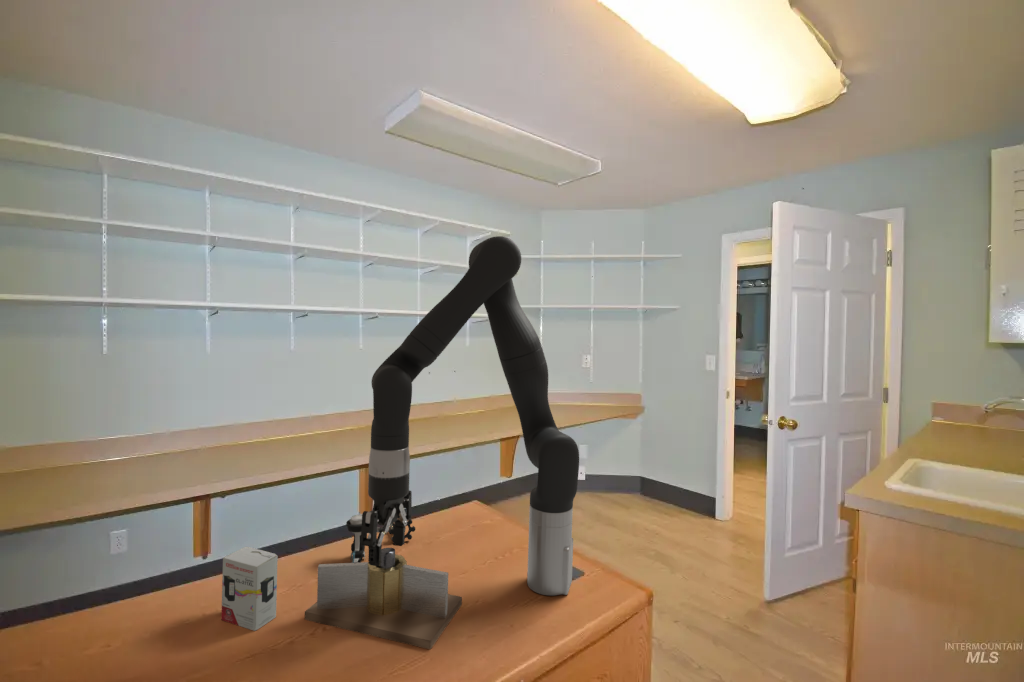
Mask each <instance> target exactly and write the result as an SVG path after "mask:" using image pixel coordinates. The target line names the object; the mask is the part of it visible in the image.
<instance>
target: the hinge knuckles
mask: <svg viewBox="0 0 1024 682" xmlns="http://www.w3.org/2000/svg"><path fill="white" fill-rule="evenodd" d="M316 590H317V593H316V594H317V595H316V599H317V600H316V602H317V609H332V608H350V607H367V608H368V611H369V612H370V613H373V614H378V615H388V614H391V613H395V612H398V611H400V609H404V610H408V611H413V612H418V613H422V614H427V615H432V616H436V617H441V618H446V616H447V606H448V594H449V572H447V571H443V570H442V571H441V570H437V569H430V568H425V567H420V566H416V565H415V566H414V565H410V564H408V562H407V560H406V558H405V557H404V556H403V555H400V554H396V553H395V567H392V568H388V569H382V568H379V566H373V565H370V564H369V561H366V562H365V561H363V562H362V561H361V563H352V562H344V563H341V562H340V563H339V562H338V563H322V564H321V563H319V564H318V566H317V589H316Z"/></svg>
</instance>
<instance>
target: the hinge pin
mask: <svg viewBox="0 0 1024 682" xmlns="http://www.w3.org/2000/svg"><path fill="white" fill-rule="evenodd" d="M395 554H396V549H395V548H394V547H383V548H382V552H381V564H380V565H379V568H382V569H388V568H392V567H395Z"/></svg>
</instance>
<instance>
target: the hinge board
mask: <svg viewBox="0 0 1024 682" xmlns="http://www.w3.org/2000/svg"><path fill="white" fill-rule="evenodd" d="M462 604H463V597H462V596H459V595H454V594H449V593H448V606H447V616H446V618H441V617H436V616H432V615H427V614H422V613H418V612H413V611H408V610H404V609H400V611H398V612H395V613H391V614H388V615H378V614H373V613H370V612H369V611H368V608H367V607H350V608H332V609H317V601H316V602H315V603H314V604H312V605H311V606H310V607H308V608H307V609H306V610H304V620H306V621H308V622H314V623H318V624H320V625H321V624H322V625H327V626H330V627H333V628H334V627H335V628H339V629H342V630H347V631H351V632H355V633H360V634H365V635H369V636H372V637H376V638H381V639H384V640H390V641H393V642H398V643H401V644H404V645H405V644H406V645H410V646H414V647H419V648H423V649H426V650H431V649H432V648H433V647H434V646H435V644H436V642H437V641H438V640H439V638H440V637H441V635H442V634H443V632H444V631H445V630H446V628H447V626H448V625H449V623H450V622H451V621H452V619H453V618H454V616H455V615H456V613H457V612H458V611H459V609H460V608H461V606H462Z"/></svg>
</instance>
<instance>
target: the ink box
mask: <svg viewBox="0 0 1024 682" xmlns="http://www.w3.org/2000/svg"><path fill="white" fill-rule="evenodd" d="M278 561H279V560H278V555H277V554H276V553H274V552H273V553H272V552H271V551H270V552H269V551H265V550H262V549H259V548H258V549H257V548H254V547H251V546H244V547H242V548H240V549H238V550H236V551H234V552H232V553H229V554H227V555H226V556H224V557H222V581H221V583H222V585H221V586H222V587H221V590H222V591H221V615H220V616H221V621H224V622H226V623H228V624H232V625H236V626H239V627H241V628H245V629H247V630H250V631H254V632H257V630H260V628H263V626H265V625H266V624H268V623H270V622H271V621H272V620H274V619H275V618H276V617H277V594H278V593H277V591H278V588H277V587H278Z"/></svg>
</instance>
